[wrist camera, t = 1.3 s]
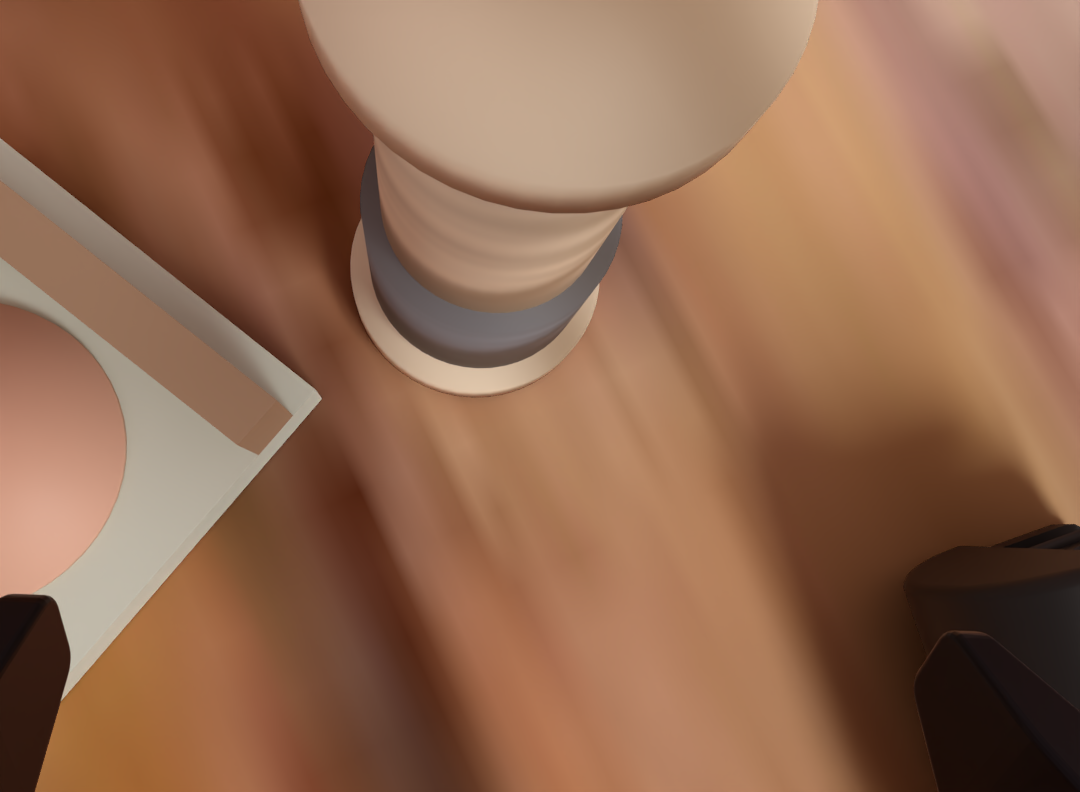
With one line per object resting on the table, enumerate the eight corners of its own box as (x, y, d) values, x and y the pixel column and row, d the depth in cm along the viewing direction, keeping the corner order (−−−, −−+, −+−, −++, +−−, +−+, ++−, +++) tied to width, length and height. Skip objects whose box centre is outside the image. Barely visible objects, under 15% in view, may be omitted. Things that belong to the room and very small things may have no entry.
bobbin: (494, 446, 22) (620, 327, 9) (301, 292, 22) (130, -68, 9) (637, 266, 24) (936, -76, 10) (456, 119, 24) (516, -425, 10)
